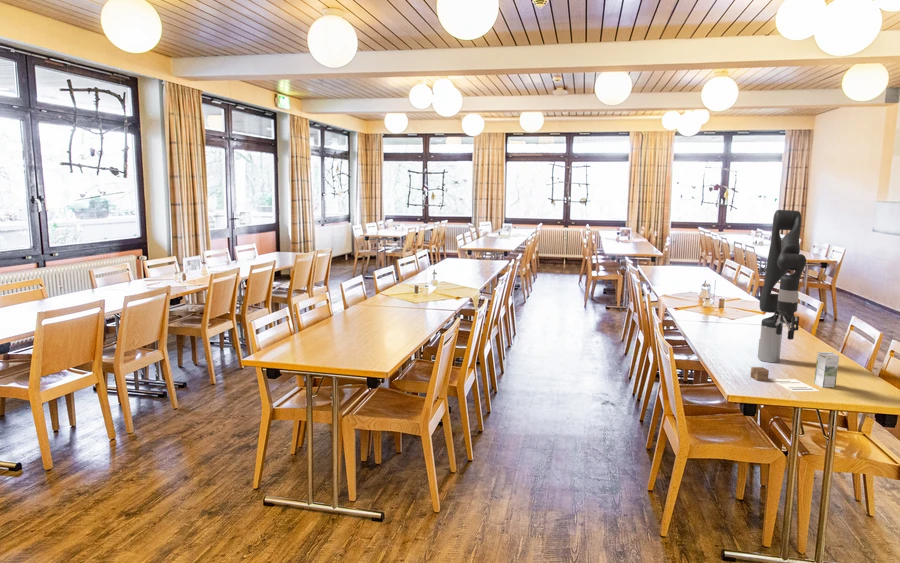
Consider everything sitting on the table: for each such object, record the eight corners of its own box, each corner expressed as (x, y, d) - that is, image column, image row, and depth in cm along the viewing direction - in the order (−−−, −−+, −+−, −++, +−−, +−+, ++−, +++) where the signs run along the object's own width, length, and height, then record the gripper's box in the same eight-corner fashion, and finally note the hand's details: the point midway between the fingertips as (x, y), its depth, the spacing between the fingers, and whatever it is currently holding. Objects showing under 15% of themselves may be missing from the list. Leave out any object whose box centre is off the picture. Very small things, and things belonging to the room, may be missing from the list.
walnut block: (750, 377, 261) (751, 367, 260) (761, 377, 261) (762, 367, 260) (756, 381, 256) (757, 370, 255) (767, 381, 256) (768, 370, 255)
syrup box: (826, 383, 253) (830, 351, 250) (835, 388, 247) (839, 355, 245) (813, 384, 252) (817, 351, 250) (822, 388, 247) (826, 355, 244)
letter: (769, 380, 257) (769, 379, 257) (795, 379, 258) (795, 379, 258) (792, 392, 242) (792, 391, 242) (820, 391, 242) (820, 391, 242)
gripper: (769, 297, 257) (766, 332, 259) (789, 303, 243) (785, 341, 245) (786, 297, 257) (783, 332, 260) (806, 303, 243) (803, 341, 245)
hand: (784, 336), depth 252 cm, fingers open, 8 cm apart
